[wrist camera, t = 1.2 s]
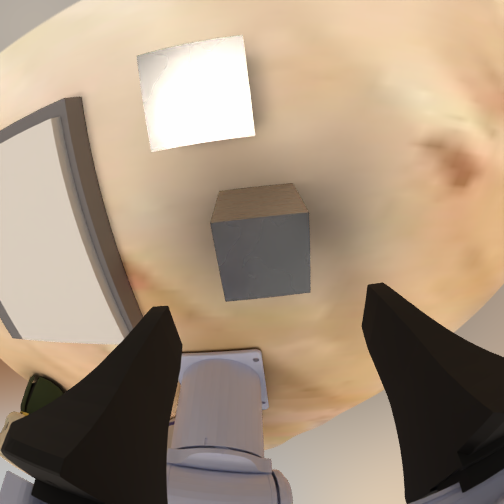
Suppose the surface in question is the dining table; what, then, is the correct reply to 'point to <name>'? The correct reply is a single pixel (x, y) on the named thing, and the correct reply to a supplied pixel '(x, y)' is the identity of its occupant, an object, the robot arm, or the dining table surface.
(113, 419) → the robot arm
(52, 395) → the character mug
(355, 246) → the dining table surface
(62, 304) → the kitchen scale
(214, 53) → the block
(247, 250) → the block
